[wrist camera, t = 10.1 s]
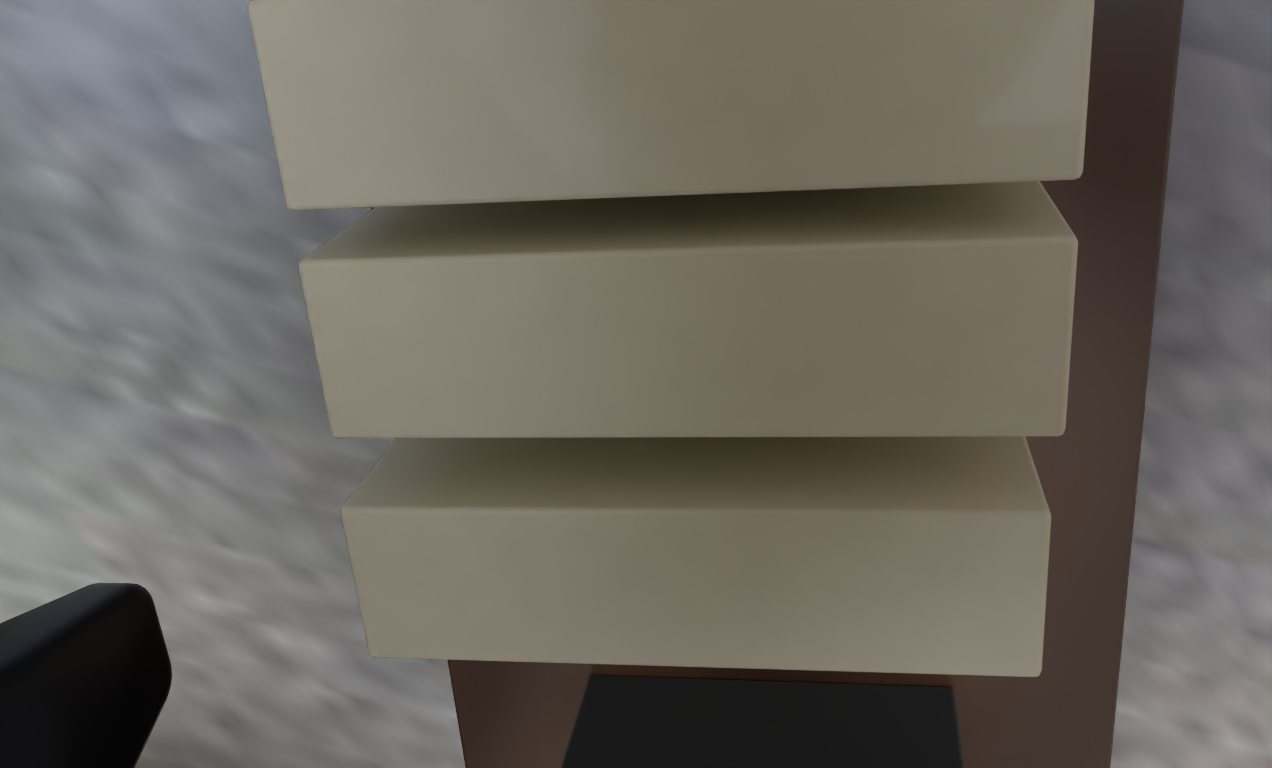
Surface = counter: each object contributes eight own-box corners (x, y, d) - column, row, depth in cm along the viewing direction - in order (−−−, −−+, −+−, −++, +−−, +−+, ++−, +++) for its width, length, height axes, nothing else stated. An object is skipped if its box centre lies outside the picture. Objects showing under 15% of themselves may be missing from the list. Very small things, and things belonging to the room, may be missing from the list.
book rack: (515, 930, 24) (417, 1247, 19) (347, -121, 17) (96, -118, 11) (1074, 970, 22) (1153, 1338, 17) (1178, -197, 15) (1386, -242, 9)
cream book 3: (548, 358, 18) (367, 659, 11) (536, 256, 17) (337, 508, 10) (959, 352, 17) (1042, 680, 10) (962, 243, 16) (1052, 513, 9)
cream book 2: (536, 213, 17) (329, 441, 10) (522, 100, 16) (294, 261, 9) (969, 196, 16) (1067, 438, 9) (972, 74, 15) (1080, 236, 8)
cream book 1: (519, 70, 16) (283, 212, 9) (506, -54, 15) (242, 0, 9) (974, 42, 15) (1083, 180, 8) (977, -91, 14) (1101, -65, 8)
